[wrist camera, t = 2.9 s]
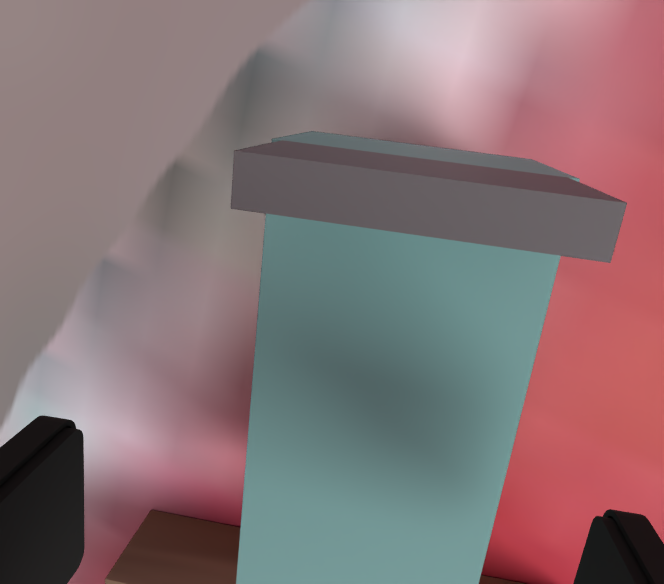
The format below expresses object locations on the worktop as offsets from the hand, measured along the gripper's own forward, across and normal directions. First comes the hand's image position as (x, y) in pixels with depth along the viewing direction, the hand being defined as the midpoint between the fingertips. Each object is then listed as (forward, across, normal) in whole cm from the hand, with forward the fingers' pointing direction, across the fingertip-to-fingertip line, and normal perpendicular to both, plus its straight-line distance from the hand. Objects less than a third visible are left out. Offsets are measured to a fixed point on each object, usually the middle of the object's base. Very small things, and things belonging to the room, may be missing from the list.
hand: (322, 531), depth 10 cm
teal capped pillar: (+9, -1, -1) cm, 9 cm away
